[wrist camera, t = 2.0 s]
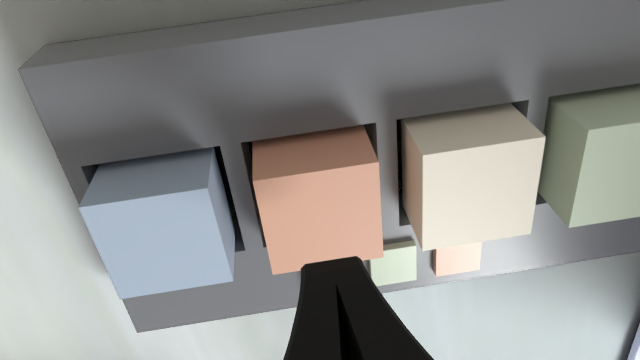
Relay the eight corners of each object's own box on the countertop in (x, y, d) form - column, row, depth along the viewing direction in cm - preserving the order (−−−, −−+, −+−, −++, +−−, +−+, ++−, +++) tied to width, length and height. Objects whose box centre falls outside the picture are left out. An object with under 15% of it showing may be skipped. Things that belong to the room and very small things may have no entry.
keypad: (675, -44, 15) (736, -29, 13) (607, 219, 21) (644, 257, 19) (44, 44, 15) (13, 73, 13) (146, 292, 20) (135, 339, 18)
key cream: (508, 101, 16) (545, 136, 14) (498, 190, 18) (530, 234, 16) (400, 117, 16) (422, 155, 14) (402, 205, 17) (422, 251, 15)
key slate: (213, 144, 15) (207, 187, 13) (235, 231, 17) (233, 281, 15) (101, 161, 15) (78, 207, 13) (135, 247, 17) (120, 299, 15)
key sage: (651, 79, 16) (709, 112, 14) (626, 170, 18) (674, 210, 16) (545, 95, 16) (588, 130, 14) (532, 185, 18) (568, 227, 16)
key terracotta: (362, 123, 16) (378, 162, 14) (368, 211, 17) (383, 257, 15) (252, 138, 15) (252, 181, 13) (270, 226, 17) (272, 274, 15)
